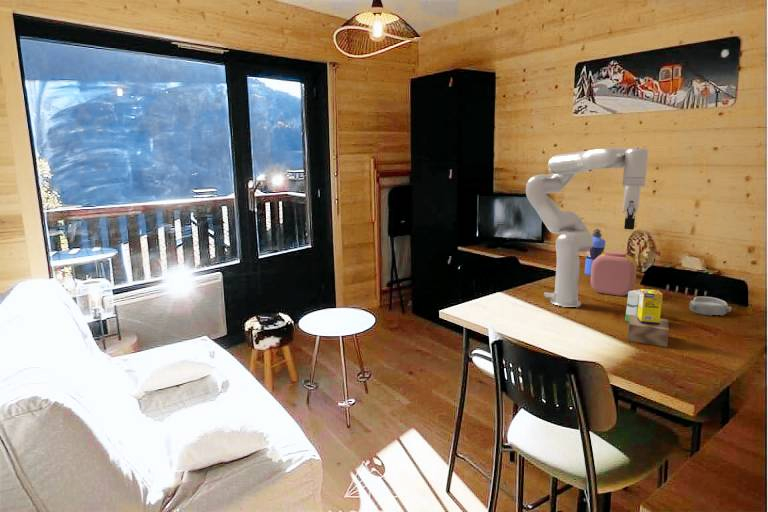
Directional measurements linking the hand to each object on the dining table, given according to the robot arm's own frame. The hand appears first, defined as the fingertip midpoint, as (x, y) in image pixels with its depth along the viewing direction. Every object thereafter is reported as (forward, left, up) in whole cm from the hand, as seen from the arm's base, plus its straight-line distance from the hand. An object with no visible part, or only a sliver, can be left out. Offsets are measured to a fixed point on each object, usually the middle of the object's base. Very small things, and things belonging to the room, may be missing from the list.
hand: (629, 227), depth 184 cm
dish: (+32, +28, -37) cm, 56 cm away
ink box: (+6, +1, -36) cm, 37 cm away
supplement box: (+9, -19, -31) cm, 37 cm away
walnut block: (+9, -19, -36) cm, 42 cm away
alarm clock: (-5, +42, -36) cm, 56 cm away
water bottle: (-16, +80, -36) cm, 89 cm away
